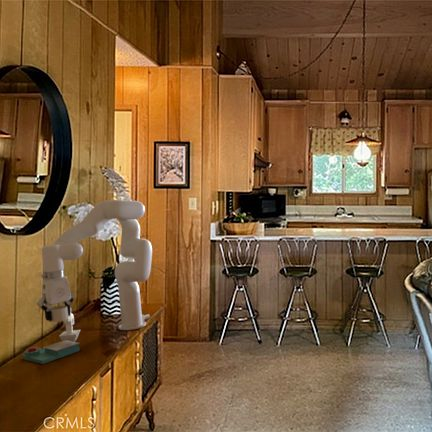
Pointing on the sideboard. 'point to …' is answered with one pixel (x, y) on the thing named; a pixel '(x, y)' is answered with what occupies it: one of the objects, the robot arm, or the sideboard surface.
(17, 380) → the sideboard surface
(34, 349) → the tare button
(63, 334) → the figurine
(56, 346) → the weighing plate
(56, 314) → the cup
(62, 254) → the robot arm
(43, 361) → the scale
